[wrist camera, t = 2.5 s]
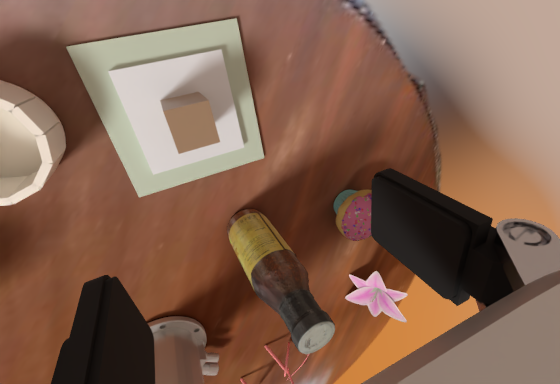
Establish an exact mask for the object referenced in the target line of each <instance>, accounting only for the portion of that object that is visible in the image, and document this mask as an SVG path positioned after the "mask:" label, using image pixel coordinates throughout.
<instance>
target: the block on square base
mask: <svg viewBox="0 0 560 384" xmlns="http://www.w3.org/2000/svg"><path fill="white" fill-rule="evenodd" d="M108 72H109V75H110V77H111V79H112V82H113V84H114V86H115V89H116V91H117V93H118V95H119V98H120V100H121V102H122V105H123V107H124V109H125V112H126V114H127V116H128V118H129V121H130V123H131V125H132V128H133V130H134V132H135V134H136V137H137V139H138V141H139V144H140V146H141V148H142V151H143V153H144V155H145V157H146V160H147V162H148V164H149V167H150V169H151V171H152V173H153V175H154V174H158V173H161V172H164V171H168V170H171V169H174V168H178V167H181V166H184V165H188V164H191V163H194V162H198V161H201V160H204V159H208V158H211V157H214V156H218V155H221V154H224V153H228V152H231V151H234V150H238V149H241V148H244V144H243V139H242V135H241V131H240V127H239V122H238V118H237V114H236V110H235V105H234V101H233V97H232V92H231V88H230V84H229V80H228V75H227V71H226V67H225V63H224V58H223V54H222V50H221V49H219V50H214V51H208V52H203V53H198V54H193V55H188V56H183V57H177V58H172V59H167V60H162V61H157V62H152V63H147V64H141V65H136V66H131V67H126V68H121V69H116V70H111V71H108Z"/></svg>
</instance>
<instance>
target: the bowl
mask: <svg viewBox="0 0 560 384" xmlns="http://www.w3.org/2000/svg"><path fill="white" fill-rule="evenodd" d="M65 147H66V137H65V132H64V129H63V126H62V124H61V122H60V120H59V118H58V117H57V115H56V114H55V113H54V111H53V110H52V109H51V108H50V107H49V106H48V105H47V104H46V103H45V102H44V101H43V100H41V99H40V98H39V97H37V96H36V95H34V94H33V93H31V92H29V91H28V90H26V89H24V88H22V87H19V86H17V85H14V84H12V83H8V82H5V81H2V80H0V206H5V205H12V204H15V203H17V202H19V201H21V200H23V199H24V198H26V197H28V196H30V195H31V194H33V193H35V192H37V191H39V190H40V189H41V188H42V187H43V186H44V185H45V183H46V182H47V180H48V179H49V178H50V176H51V175H52V174H53V172H54V171H55V170H56V168H57V166H58V164H59V162H60V160H61V159H62V157H63V154H64V152H65V149H66V148H65Z"/></svg>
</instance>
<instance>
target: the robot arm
mask: <svg viewBox="0 0 560 384" xmlns="http://www.w3.org/2000/svg"><path fill="white" fill-rule="evenodd" d="M491 223H492V218H490V217H488V216H486V215H484V214H482V213H480V212H478V211H476V210H474V209H472V208H470V207H468V206H466V205H464V204H462V203H460V202H458V201H456V200H454V199H452V198H450V197H448V196H446V195H444V194H442V193H440V192H438V191H436V190H434V189H432V188H430V187H428V186H426V185H424V184H422V183H420V182H418V181H416V180H414V179H412V178H409V177H407V176H405V175H403V174H401V173H399V172H397V171H395V170H393V169H386V170H383V171H381V172H378V173H376V174H375V176H374V178H373V179H372V194H371V234H372V237H373V238H374V240H375V241H377V242H378V243H379V244H380V245H381V246H382V247H384V248H385V249H386V250H387V251H388V252H390V253H391V254H392V255H393V256H394V257H396V258H397V259H398V260H399V261H400V262H401V263H403V264H404V265H405V266H406V267H407V268H409V269H410V270H411V271H412V272H413V273H415V274H416V275H417V276H418V277H419V278H420V279H422V280H423V281H424V282H425V283H426V284H428V285H429V286H430V287H431V288H432V289H433V290H435V291H436V292H437V293H438V294H440V295H441V296H442V297H443V298H445V299H450V300H451V301H452V302H453V303H454V304H456V305H457V306H458V305H460V304H461V303H463V302H465V301H467V300H468V299H469V297H470V295H471V296H472V297H473V298H475V299H476V302H477V305H478V308H479V311H480V312H479V313H477V314H475V315H473V316H472V317H470V318H468V319H467V320H465V321H463V322H462V323H460V324H458V325H457V326H455V327H454V328H452V329H450V330H449V331H447V332H445V333H444V334H442V335H440V336H439V337H437V338H435V339H434V340H432V341H430V342H429V343H427V344H426V345H424V346H422V347H420V348H419V349H417V350H416V351H414V352H412V353H411V354H409V355H407V356H406V357H404V358H402V359H401V360H399V361H398V362H396V363H395V364H393V365H391V366H389V367H388V368H386V369H385V370H383V371H381V372H379V373H378V374H376V375H375V376H373V377H371V378H370V379H368V380H366V381H365V382H363V383H362V384H560V239H559V238H558V236H557V235H556V234H555V233H554V232H553V231H552V230H550V229H549V228H547V227H545V226H544V225H541V224H539V223H536V222H533V221H529V220H524V219H506V220H502V221H501V222H499V223H498V225H497V227H496V229H495V228H494V227H492V226H491ZM206 342H207V339H206V332H205V329H204V327H203V326H202V325H201V324H200V323H199V322H198V321H196V320H195V319H192V318H189V317H183V316H171V317H165V318H161V319H157V320H154V321H152V322H150V323H147V322H146V321H145V319H144V318H143V316H142V314H141V313H140V311H139V310H138V308H137V307H136V305H135V304H134V302H133V301H132V299H131V298H130V296H129V294H128V293H127V291H126V290H125V288H124V287H123V285H122V284H121V282H120V281H119V279H118V278H117V277H112V278H110V277H109V276H108V275H104V276H101V277H99V278H96V279H93V280H91V281H88V282H86V283H84V285H83V288H82V292H81V296H80V299H79V303H78V307H77V311H76V315H75V318H74V322H73V326H72V330H71V334H70V337H69V338H68V339H66V341H65V342H64V343H63V345H62V347H61V350H60V354H59V357H58V361H57V364H56V368H55V371H54V375H53V378H52V382H51V384H204V378H203V375H216V374H217V373H218V369H219V365H218V363H217V362H218V360H219V354H218V353H207V352H206V351H205V349H204V348H205V346H206Z"/></svg>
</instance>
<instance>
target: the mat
mask: <svg viewBox="0 0 560 384" xmlns="http://www.w3.org/2000/svg"><path fill="white" fill-rule="evenodd" d="M66 48H67V50H68V52H69V54H70V56H71V58H72V60H73V62H74V65H75V67H76V69H77V71H78V73H79V75H80V77H81V79H82V81H83V83H84V85H85V87H86V89H87V91H88V93H89V95H90V97H91V99H92V102H93V104H94V106H95V108H96V110H97V112H98V114H99V116H100V118H101V120H102V122H103V124H104V126H105V128H106V130H107V132H108V134H109V136H110V138H111V141H112V143H113V145H114V147H115V149H116V151H117V153H118V155H119V157H120V159H121V161H122V163H123V165H124V167H125V169H126V171H127V173H128V175H129V177H130V180H131V182H132V184H133V186H134V188H135V190H136V192H137V194H138V196H139V197H142V196H146V195H149V194H152V193H155V192H158V191H161V190H165V189H168V188H171V187H174V186H177V185H180V184H184V183H187V182H190V181H193V180H196V179H199V178H202V177H206V176H209V175H212V174H215V173H218V172H221V171H225V170H228V169H231V168H234V167H237V166H240V165H244V164H247V163H250V162H253V161H256V160H259V159H263V158H264V153H263V148H262V143H261V138H260V133H259V128H258V123H257V118H256V113H255V108H254V103H253V98H252V93H251V88H250V83H249V78H248V73H247V68H246V63H245V58H244V53H243V48H242V43H241V38H240V33H239V28H238V23H237V18H235V19H229V20H223V21H217V22H211V23H205V24H199V25H193V26H187V27H181V28H175V29H169V30H163V31H157V32H151V33H145V34H139V35H133V36H127V37H121V38H115V39H109V40H103V41H97V42H91V43H85V44H79V45H73V46H67V47H66ZM219 49H221V50H222V54H223V58H224V63H225V67H226V71H227V75H228V80H229V84H230V88H231V92H232V97H233V101H234V105H235V110H236V114H237V118H238V122H239V127H240V131H241V135H242V139H243V144H244V148H241V149H238V150H234V151H231V152H228V153H224V154H221V155H218V156H214V157H211V158H208V159H204V160H201V161H198V162H194V163H191V164H188V165H184V166H181V167H178V168H174V169H171V170H168V171H164V172H161V173H158V174H154V175H153V173H152V171H151V169H150V167H149V164H148V162H147V160H146V157H145V155H144V153H143V151H142V148H141V146H140V144H139V141H138V139H137V137H136V134H135V132H134V130H133V128H132V125H131V123H130V121H129V118H128V116H127V114H126V112H125V109H124V107H123V105H122V102H121V100H120V98H119V95H118V93H117V91H116V89H115V86H114V84H113V82H112V79H111V77H110V75H109V72H108V71H111V70H116V69H121V68H126V67H131V66H136V65H141V64H147V63H152V62H157V61H162V60H167V59H172V58H177V57H183V56H188V55H193V54H198V53H203V52H208V51H214V50H219Z"/></svg>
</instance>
